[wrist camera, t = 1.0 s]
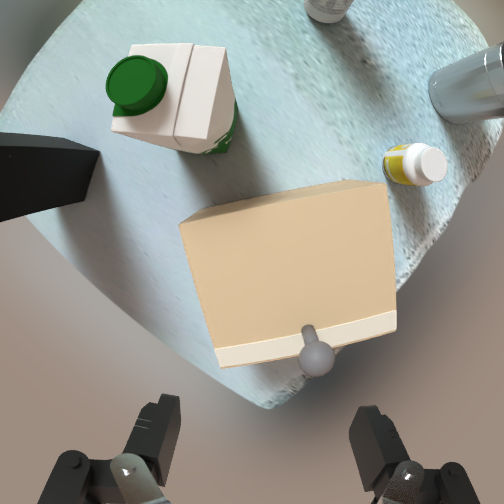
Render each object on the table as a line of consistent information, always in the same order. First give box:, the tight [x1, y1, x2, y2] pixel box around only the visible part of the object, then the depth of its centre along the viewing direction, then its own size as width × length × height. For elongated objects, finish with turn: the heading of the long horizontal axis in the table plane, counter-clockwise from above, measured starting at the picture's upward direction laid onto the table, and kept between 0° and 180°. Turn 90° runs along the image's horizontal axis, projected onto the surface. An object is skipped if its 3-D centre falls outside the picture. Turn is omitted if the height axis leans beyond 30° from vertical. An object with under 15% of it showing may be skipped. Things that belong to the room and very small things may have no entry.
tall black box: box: [0, 132, 100, 222], centre depth 24 cm, size 8×8×28 cm
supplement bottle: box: [382, 143, 447, 186], centre depth 32 cm, size 5×5×10 cm
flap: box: [179, 184, 397, 377], centre depth 25 cm, size 20×16×7 cm
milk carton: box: [106, 43, 238, 154], centre depth 26 cm, size 9×9×20 cm
